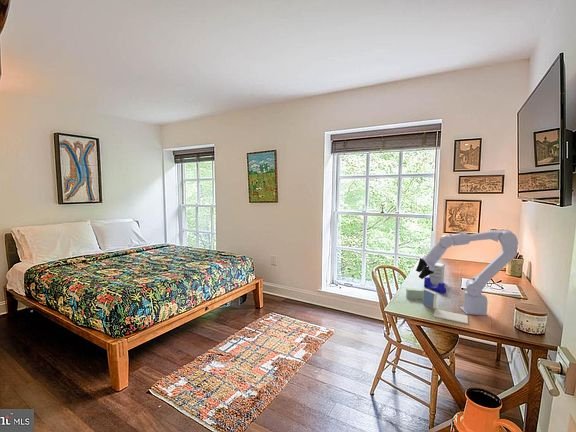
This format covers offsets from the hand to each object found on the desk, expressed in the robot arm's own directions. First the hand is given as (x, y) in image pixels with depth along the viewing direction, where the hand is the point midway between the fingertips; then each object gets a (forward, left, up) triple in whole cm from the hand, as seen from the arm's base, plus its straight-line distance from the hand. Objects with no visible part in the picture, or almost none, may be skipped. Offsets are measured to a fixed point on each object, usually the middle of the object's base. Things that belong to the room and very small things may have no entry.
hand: (418, 274), depth 157 cm
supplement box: (-19, -34, -15) cm, 42 cm away
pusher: (0, -5, -15) cm, 16 cm away
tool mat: (-11, +17, -15) cm, 25 cm away
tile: (-4, +5, -15) cm, 16 cm away
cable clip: (-15, -21, -15) cm, 30 cm away
